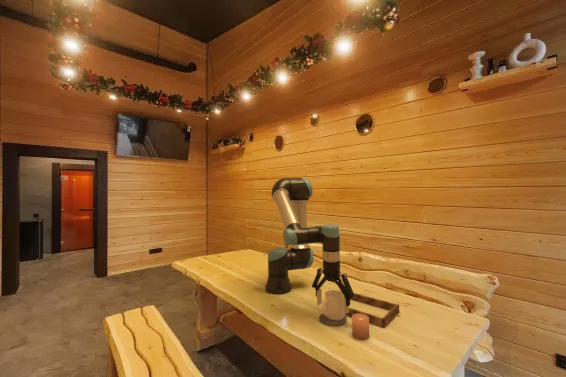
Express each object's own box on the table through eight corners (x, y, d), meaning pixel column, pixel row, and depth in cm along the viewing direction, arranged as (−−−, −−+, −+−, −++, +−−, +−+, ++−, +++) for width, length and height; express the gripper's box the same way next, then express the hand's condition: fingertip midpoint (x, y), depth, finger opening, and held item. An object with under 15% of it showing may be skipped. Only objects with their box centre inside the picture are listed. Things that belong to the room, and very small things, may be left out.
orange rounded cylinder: (349, 335, 102) (348, 317, 102) (356, 329, 106) (356, 311, 107) (365, 341, 97) (364, 322, 98) (372, 334, 102) (371, 316, 102)
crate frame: (329, 309, 124) (329, 302, 124) (347, 297, 138) (347, 291, 138) (384, 328, 107) (384, 319, 107) (399, 312, 120) (399, 304, 120)
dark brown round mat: (313, 320, 114) (313, 318, 115) (328, 310, 123) (328, 309, 123) (337, 329, 106) (337, 327, 106) (351, 318, 115) (351, 317, 115)
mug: (328, 325, 108) (328, 300, 109) (315, 318, 115) (315, 294, 115) (348, 317, 115) (348, 293, 115) (334, 310, 122) (334, 288, 122)
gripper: (303, 257, 121) (304, 303, 121) (353, 267, 104) (354, 320, 104) (313, 254, 126) (314, 298, 126) (361, 263, 110) (362, 313, 110)
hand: (332, 308), depth 115 cm, fingers open, 13 cm apart
